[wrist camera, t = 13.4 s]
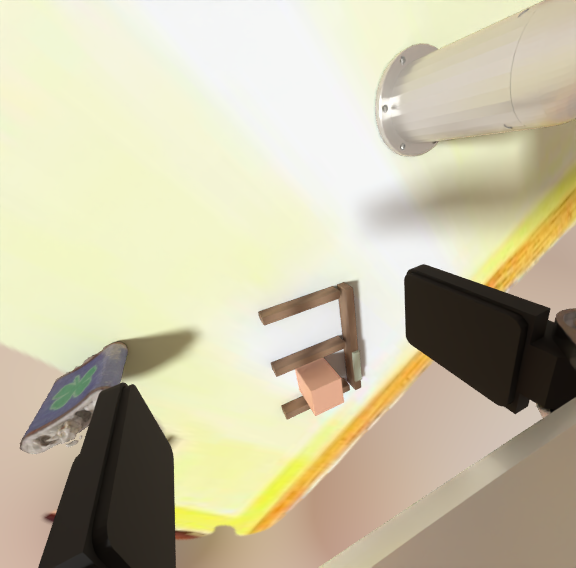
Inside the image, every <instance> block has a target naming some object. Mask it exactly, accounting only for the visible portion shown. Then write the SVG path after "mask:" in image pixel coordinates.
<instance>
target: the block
mask: <svg viewBox="0 0 576 568" xmlns="http://www.w3.org/2000/svg"><path fill="white" fill-rule="evenodd" d="M295 371H296V376H297V380H298V385H299V390H300V392H301V393H302V395H303V397H304V398H305V400H306V401H307V403H308V405H309V406H310V408H311V410H312V411H313V413H314V414H315V416H317V415H319V414H321V413H323V412H325V411H327V410H329V409H331V408H333V407H335V406H337V405H339V404H341V403H344V398H343V390H342V382H341V377H340V376H339V375H338V374H337V373H336V371H335V370H334V369H333V368H332V367H331V366H330V364H329V363H328V362H327V361H326V360H325V359H324V357H323V358H320V359H318V360H315V361H313V362H311V363H308V364H306V365H304V366H301V367H299V368H296V369H295Z"/></svg>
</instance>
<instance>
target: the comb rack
mask: <svg viewBox="0 0 576 568" xmlns="http://www.w3.org/2000/svg"><path fill="white" fill-rule="evenodd" d="M337 289H338V290H337ZM337 289H336V288H334V287H333V286H332V287H329V288H326V289H323V290H320V291H317V292H314V293H311V294H309V295H306V296H303V297H300V298H297V299H294V300H291V301H288V302H285V303H283V304H280V305H277V306H274V307H271V308H268V309H265V310H262V311H259V312H258V313H259V317H260V320H261V322H262V323H263V325H267V324H270V323H273V322H275V321H278V320H281V319H284V318H286V317H289V316H292V315H295V314H297V313H300V312H303V311H306V310H309V309H311V308H314V307H317V306H320V305H322V304H325V303H328V302H331V301H333V300H336V299H339V307H340V317H341V326H342V335H343V340H342V339H341V338H340V337H339V336H336V337H334V338H331V339H329V340H326V341H324V342H321V343H319V344H316V345H314V346H311V347H309V348H307V349H304V350H302V351H299V352H297V353H294V354H292V355H289V356H287V357H284V358H282V359H279V360H277V361H274V362H272V363H271V366H272V369H273V371H274V373H275V375H276V377H277V376H280V375H282V374H285V373H287V372H289V371H292V370H294V369H296V368H299V367H301V366H304V365H306V364H308V363H311V362H313V361H315V360H318V359H320V358H323V357H325V356H327V355H330V354H332V353H334V352H337V351H339V350H342V349H344V354H345V363H346V372H347V381H348V382H349V383H350V385H351V386H352V387H353V388H354V389H355V390H357V389H359V388H361V379H362V376H361V363H360V351H359V350H358V343H357V330H356V318H355V306H354V294H353V288H352V287H351V286H349V285H347V284H346V283H344V282H343V283H340V284H337ZM341 382H342V390H343V393H345V392H347V391H349V390H350V387H349V384H348V383H347V382H346V381H345V379H344V378H341ZM309 409H311V408H310V406H309V405H308V403H307V401H306V400H305V398H304V397H303V396H302V397H300V398H297V399H295V400H293V401H291V402H289V403H286V404H284V405H282V410H283V413H284V415H285V417H286V419H289V418H292V417H294V416H296V415H298V414H300V413H302V412H304V411H306V410H309Z"/></svg>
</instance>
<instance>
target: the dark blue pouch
mask: <svg viewBox="0 0 576 568" xmlns="http://www.w3.org/2000/svg"><path fill="white" fill-rule="evenodd" d="M127 354H128V349H127V346H126V345H125V344H123V343H122V342H115V343H112V344H109V345H107V346H105V347H104V348H103V350H102V351H100V352H99V353H98V354H96V355H93V356H91V357H88V359H87V360H85V362H84V363H83V364H82V365H81V366H80V367H76V368H75V369H74V370H73V371H72V372H69V373H66V374H65V375H63V376H61V377H60V378H58V379H56V381H55V383H54V385H53V387H52V389H51V391H50V393H49V394H48V396H47V398H46V399H45V401H44V402H43V404H42V406H41V408H40V410H39V411H38V413H37V415H36V416H35V418H34V420H33V422H32V423H31V425H30V426H29V429H28V430H27V431H26V433H25V435H24V437H23V438H22V441H21V443H20V449H21V450H22V451H25V452H27V453H31V454H37V453H41V452H44V451H46V450H48V449H50V448H52V447H53V446H55V445H58V444H60V443H61V444H62V443H65V442H68V441H70V440H72V439H75V437H76V434H77V433H78V432H81V431H82V430H83V429H85V428H86V427H88V426H89V424H90V421H91V417H92V414H93V411H94V408H95V405H96V402H97V398H98V395H99V393H100V392H101V391H102V390H105V389H107V388H110V387H113V386H115V385H118V384H120V382H121V378H122V373H123V368H124V365H125V361H126V357H127ZM79 438H80V439H81V438H82V436H80V437H79ZM77 443H78V441H77V440H74V441H72V442H71V443H69V444H66V447H70V446H73V445H75V444H77Z"/></svg>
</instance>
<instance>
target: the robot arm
mask: <svg viewBox="0 0 576 568" xmlns="http://www.w3.org/2000/svg"><path fill="white" fill-rule="evenodd" d="M375 114H376V121H377V126H378V129H379V133H380V135H381V137H382V139H383V141H384V142H385V144H386V145H387V146H388V147H389V148H390V149H391V150H392V151H393V152H395V153H397V154H399V155H402V156H417V155H421V154H423V153H426V152H428V151H429V150H430V149H432V148H433V147H434V146H435V145H436V144H437V143H438V142H439V141H440V140H448V139H456V138H464V137H472V136H480V135H488V134H496V133H504V132H512V131H520V130H528V129H536V128H543V127H550V126H556V125H560V124H564V123H567V122H570V121H572V120H575V119H576V0H544V1H541V2H539V3H537V4H535V5H533V6H531V7H528V8H526V9H524V10H522V11H520V12H518V13H516V14H513V15H511V16H509V17H507V18H505V19H503V20H500V21H498V22H496V23H494V24H492V25H490V26H487V27H485V28H483V29H481V30H479V31H477V32H475V33H472V34H470V35H468V36H466V37H464V38H462V39H459V40H457V41H455V42H453V43H451V44H449V45H446V46H444V47H442V48H440V49H437V48H436V47H434V46H432V45H429V44H421V43H420V44H416V45H412V46H410V47H408V48H406V49H404V50H403V51H401V52H400V53H398V54H397V55H396V56H395V57H394V58H393V59H392V60H391V61H390V63H389V64H388V66H387V67H386V69H385V70H384V73H383V75H382V77H381V79H380V82H379V86H378V89H377V95H376V102H375ZM404 286H405V324H406V338H407V340H408V342H409V343H410V344H411V345H412V346H414V347H415V348H417V349H418V350H420V351H421V352H422V353H424V354H425V355H427V356H428V357H430V358H431V359H432V360H434V361H435V362H437V363H438V364H440V365H441V366H443V367H444V368H445V369H447V370H448V371H450V372H451V373H453V374H454V375H455V376H457V377H458V378H460V379H461V380H463V381H464V382H465V383H467V384H468V385H470V386H471V387H473V388H474V389H475V390H477V391H478V392H480V393H481V394H482V395H484V396H485V397H487V398H488V399H490V400H491V401H492V402H494V403H495V404H497V405H499V406H504V407H506V408H507V409H509V410H510V411H511V412H513V413H514V414H516V413H518V412H519V411H521V410H523V409H524V408H526V407H527V406H528V404H529V400H532V401H533V402H535V403H536V405H537V408H538V410H539V412H540V413H541V415H542V417H543V419H542V420H540V421H538V422H537V423H535V424H534V425H532V426H531V427H529V428H528V429H526V430H525V431H523V432H522V433H520V434H518V435H517V436H515V437H514V438H512V439H511V440H509V441H508V442H506V443H505V444H503V445H502V446H500V447H499V448H497V449H496V450H494V451H493V452H491V453H490V454H488V455H487V456H485V457H484V458H482V459H481V460H479V461H478V462H476V463H475V464H473V465H472V466H470V467H469V468H467V469H465V470H464V471H463V472H461V473H459V474H458V475H456V476H455V477H453V478H452V479H450V480H449V481H447V482H446V483H444V484H443V485H441V486H440V487H438V488H437V489H435V490H434V491H432V492H431V493H429V494H428V495H426V496H425V497H423V498H422V499H420V500H419V501H418V502H416V503H414V504H413V505H411V506H410V507H408V508H407V509H405V510H404V511H402V512H401V513H399V514H398V515H396V516H395V517H393V518H392V519H390V520H389V521H387V522H386V523H384V524H383V525H381V526H380V527H378V528H377V529H376V530H374V531H372V532H371V533H370V534H368V535H366V536H365V537H363V538H362V539H360V540H359V541H357V542H356V543H355V544H353V545H351V546H350V547H348V548H347V549H345V550H344V551H343V552H341V553H340V554H338V555H337V556H335V557H334V558H332V559H331V560H329V561H328V562H326V563H325V564H323V565H322V566H320V567H319V568H576V308H573V309H566V310H562V311H560V312H559V313H557V314H556V318H555V322H552V321H549V320H548V317H549V313H550V308H548V307H545V306H542V305H539V304H536V303H533V302H531V301H528V300H525V299H522V298H519V297H517V296H514V295H511V294H508V293H505V292H502V291H499V290H497V289H494V288H491V287H488V286H485V285H482V284H479V283H477V282H474V281H471V280H468V279H465V278H462V277H459V276H457V275H454V274H451V273H448V272H445V271H442V270H440V269H437V268H434V267H431V266H428V265H424V264H423V265H420V266H417V267H415V268H412V269H410V270H409V271H408V272H407V275H406V276H405V279H404ZM38 568H176V556H175V504H174V458H173V452H172V449H171V446H170V444H169V442H168V441H167V439H166V437H165V435H164V434H163V432H162V430H161V429H160V427H159V425H158V423H157V422H156V420H155V418H154V417H153V415H152V413H151V411H150V410H149V408H148V406H147V405H146V403H145V401H144V399H143V398H142V396H141V394H140V393H139V391H138V389H137V388H136V386H135V385H134V384H132V385H129V386H128V385H127V384H126V383H120V384H118V385H115V386H113V387H110V388H107V389H105V390H102V391H101V392H100V393H99V395H98V398H97V402H96V405H95V408H94V411H93V414H92V417H91V421H90V424H89V427H88V430H87V433H86V436H85V440H84V443H83V446H82V449H81V452H80V454H79V455H78V456H77V457H76V458H75V460H74V462H73V464H72V467H71V470H70V473H69V476H68V479H67V482H66V485H65V488H64V491H63V494H62V497H61V500H60V503H59V506H58V509H57V512H56V515H55V518H54V521H53V524H52V528H51V531H50V534H49V537H48V540H47V543H46V546H45V549H44V552H43V555H42V558H41V561H40V564H39V567H38Z"/></svg>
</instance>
